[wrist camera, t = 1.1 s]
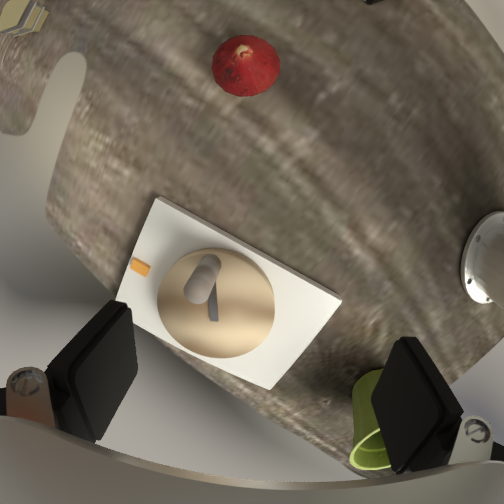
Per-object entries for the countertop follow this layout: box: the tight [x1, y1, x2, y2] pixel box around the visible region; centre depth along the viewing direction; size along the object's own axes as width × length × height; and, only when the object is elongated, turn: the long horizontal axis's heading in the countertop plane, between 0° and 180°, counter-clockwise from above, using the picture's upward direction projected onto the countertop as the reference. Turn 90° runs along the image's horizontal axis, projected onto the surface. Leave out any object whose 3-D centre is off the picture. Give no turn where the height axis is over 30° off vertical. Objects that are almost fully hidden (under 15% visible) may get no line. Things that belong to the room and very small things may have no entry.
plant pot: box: [349, 368, 391, 470], centre depth 31 cm, size 12×12×11 cm
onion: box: [212, 35, 280, 97], centre depth 22 cm, size 6×6×8 cm
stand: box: [115, 196, 342, 390], centre depth 32 cm, size 22×15×2 cm
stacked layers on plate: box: [0, 0, 49, 36], centre depth 20 cm, size 10×9×6 cm
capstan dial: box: [157, 247, 275, 358], centre depth 27 cm, size 12×12×8 cm
